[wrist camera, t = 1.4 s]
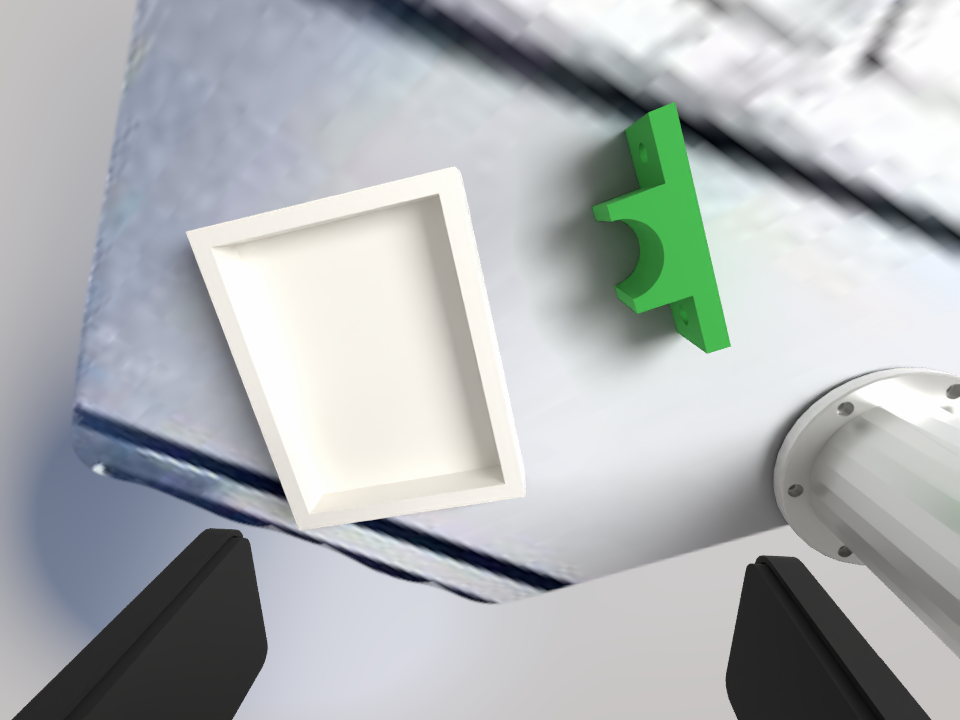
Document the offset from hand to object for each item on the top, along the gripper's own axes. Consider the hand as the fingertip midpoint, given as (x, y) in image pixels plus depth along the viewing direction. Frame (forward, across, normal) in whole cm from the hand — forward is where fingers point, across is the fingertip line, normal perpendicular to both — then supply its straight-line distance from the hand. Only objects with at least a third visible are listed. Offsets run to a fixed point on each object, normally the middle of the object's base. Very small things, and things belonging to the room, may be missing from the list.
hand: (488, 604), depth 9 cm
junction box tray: (+19, +8, +1) cm, 21 cm away
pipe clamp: (+20, -7, -6) cm, 22 cm away
